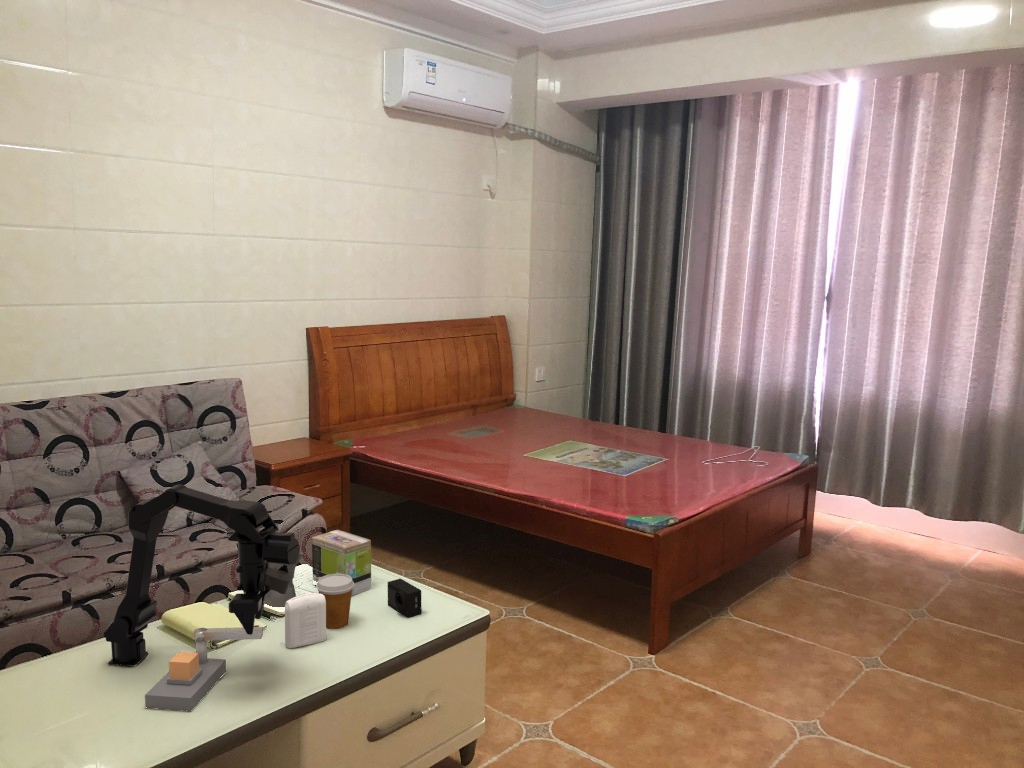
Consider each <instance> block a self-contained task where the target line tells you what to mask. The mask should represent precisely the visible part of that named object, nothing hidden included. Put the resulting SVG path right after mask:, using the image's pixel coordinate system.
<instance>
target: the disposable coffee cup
mask: <svg viewBox="0 0 1024 768" xmlns="http://www.w3.org/2000/svg"><path fill="white" fill-rule="evenodd" d="M353 586H354V582H353V580H352V578H351V577H350V576H348V575H345V574H330V575H326V576H323V577H321V578H320V579H319V580H318V583H317V585H316V586H315V588H316V589H317V592H318V593H319V594H323V595H324V596H325V600H326V629H330V630H340V629H344V628H346V627H347V626H348V624H349V619H350V611H351V610H350V609H351V602H352V596H351V595H352V588H353Z"/></svg>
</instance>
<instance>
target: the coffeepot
mask: <svg viewBox="0 0 1024 768" xmlns="http://www.w3.org/2000/svg"><path fill="white" fill-rule="evenodd" d="M304 555H305V553H304V552H302V551H300V552H299V557H298V559H297V561H296V563H295V564H293V565H290V564H287V565H289V568H290V573H291V572H292V575H293V577H292V579H291V582H290V585H289V588H288V590H287V592H286V594H280V593H279V592H277V591H274V590H270V591H269V592H268V593H267V594H266V595H265V600H264V603H265V604H267V605H269V606H272V607H285V602H286V601H288V600H290V599H292V598H294V597H296V596H297V594H296V590H295V584H294V581H293V580H294V578H295V573H296V571H295V570H296V568H297V566H298V563H299V562H300V560H301V559H302V557H303V556H304ZM281 565H282V564H279V563H269V567H270V568H273V569H275V567H276V568H277V569H278V568H279V567H280V566H281Z"/></svg>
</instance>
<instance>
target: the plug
mask: <svg viewBox="0 0 1024 768" xmlns="http://www.w3.org/2000/svg"><path fill="white" fill-rule="evenodd" d="M168 664H169V665H168V666H169V667H168V668H169V671H170V676H169V677H168V678H167V684H180V685H192V683H193V682H194V681H195V680H196V679H197V678H198V677H199V676H200V675H201V674H202V673H203V672H202V668H199V655H198V653H196V652H186V651H185V652H183V651H180V652H179V651H178V653H176V655H174V656H173V657H172V658H171V659H170V660H169V661H168Z"/></svg>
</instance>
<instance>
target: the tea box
mask: <svg viewBox="0 0 1024 768" xmlns="http://www.w3.org/2000/svg"><path fill="white" fill-rule="evenodd" d="M311 556H312V557H311V558H312V561H311V562H312V563H311V565H312V581H313V580H314V581H316V582H318V580H319V579H320V578H321V577H323V576H326V575H330V574H345V575H348V576H350V577H351V578H352V580H353V582H354V586H353V588H352V595H351V597H353V596H356V595H357V594H360V593H364V592H365V591H368V590H370V589H372V541H371V539H369V538H366V537H362V536H360V535H356V534H352V533H350V532H346V531H343V530H340V529H336V530H335V529H334V530H332V531H329V532H325V533H321V534H319V535H315V536H312V537H311Z"/></svg>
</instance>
